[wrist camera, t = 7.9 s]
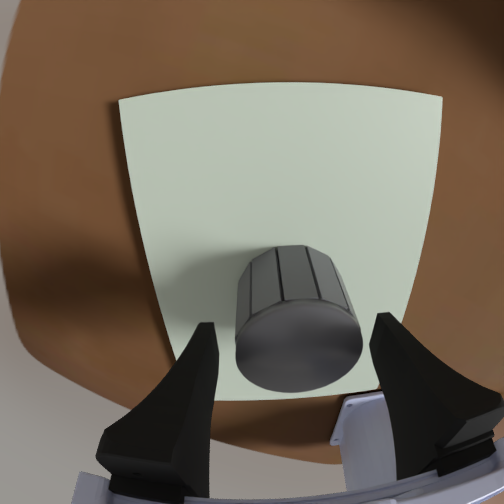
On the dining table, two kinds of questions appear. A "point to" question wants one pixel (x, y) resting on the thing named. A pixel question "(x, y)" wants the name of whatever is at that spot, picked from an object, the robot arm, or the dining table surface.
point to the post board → (280, 200)
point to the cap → (295, 321)
